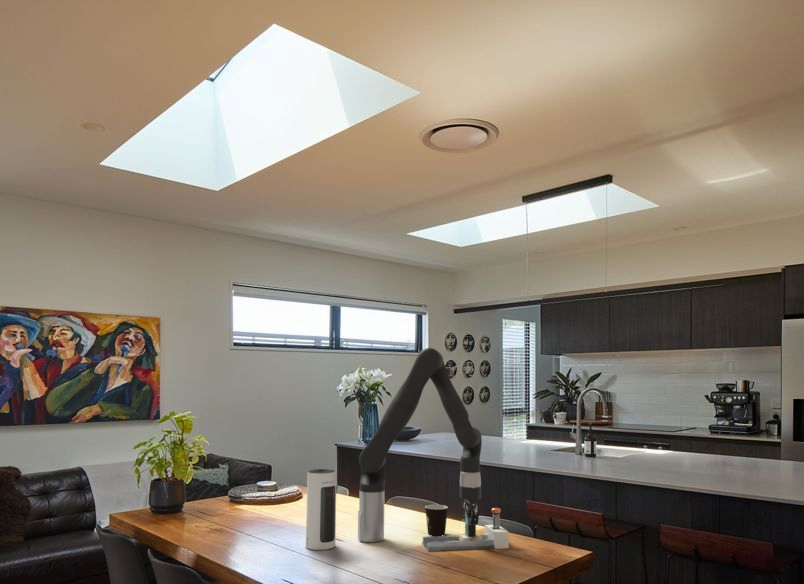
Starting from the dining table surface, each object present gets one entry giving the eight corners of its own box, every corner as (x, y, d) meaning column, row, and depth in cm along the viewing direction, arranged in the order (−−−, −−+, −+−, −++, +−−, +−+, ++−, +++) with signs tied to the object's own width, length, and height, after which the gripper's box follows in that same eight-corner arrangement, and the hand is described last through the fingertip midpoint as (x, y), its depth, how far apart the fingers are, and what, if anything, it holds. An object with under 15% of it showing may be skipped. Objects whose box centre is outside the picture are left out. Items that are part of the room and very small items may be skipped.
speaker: (310, 552, 208) (312, 472, 212) (300, 544, 217) (303, 468, 221) (339, 548, 213) (341, 470, 216) (329, 541, 222) (330, 466, 226)
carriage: (463, 544, 215) (463, 514, 216) (458, 540, 220) (458, 511, 221) (482, 543, 216) (482, 513, 218) (477, 539, 221) (477, 510, 223)
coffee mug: (446, 537, 229) (446, 509, 230) (423, 536, 230) (423, 508, 232) (450, 530, 240) (450, 503, 241) (428, 529, 242) (428, 502, 243)
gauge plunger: (493, 536, 218) (493, 509, 220) (490, 534, 221) (490, 508, 223) (502, 536, 219) (501, 509, 220) (499, 534, 222) (498, 507, 223)
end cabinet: (495, 548, 214) (494, 532, 215) (484, 540, 225) (484, 525, 225) (508, 548, 215) (508, 531, 216) (497, 540, 226) (497, 524, 226)
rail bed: (428, 551, 210) (428, 543, 210) (422, 543, 220) (422, 536, 220) (504, 548, 215) (504, 540, 216) (494, 540, 225) (494, 533, 225)
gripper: (454, 481, 227) (454, 530, 225) (465, 488, 213) (466, 540, 211) (474, 481, 229) (474, 530, 226) (486, 487, 215) (487, 539, 212)
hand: (470, 534), depth 218 cm, fingers closed on carriage, 3 cm apart
